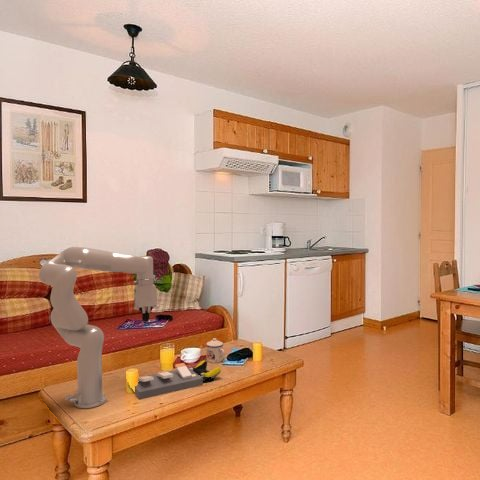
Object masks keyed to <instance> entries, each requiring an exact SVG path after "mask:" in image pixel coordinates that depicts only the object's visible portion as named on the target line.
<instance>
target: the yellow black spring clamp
mask: <svg viewBox="0 0 480 480" xmlns="http://www.w3.org/2000/svg"><path fill="white" fill-rule="evenodd" d="M207 366H208V361H207V360H201V361H200V362H199V363H198V364H197V365H196V366H195V367H190V369H191V370H192V371H194V372H195V373H196V374H198V375H200V376H205V377H211V379H214V378H216V377H218V376H219V375H220V373H221V371H222V370H221V367H219V366H216V367H215V368H213V369H211V370H207Z"/></svg>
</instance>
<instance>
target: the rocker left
mask: <svg viewBox="0 0 480 480" xmlns="http://www.w3.org/2000/svg"><path fill="white" fill-rule="evenodd" d="M138 377H139V378H138V381H142V382H145V381H150V380H154V378H153V377H151V376H148V375H143V376H142V375H141V376H138Z"/></svg>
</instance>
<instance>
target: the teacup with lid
mask: <svg viewBox="0 0 480 480" xmlns="http://www.w3.org/2000/svg"><path fill="white" fill-rule="evenodd" d="M205 346H206V361H207V363H213V364H215V363H216V364H217V363H220V362H223V361H224V358H225V354H226V353H225V350H224V348H223V347H224V343H223V342H222V341H220V340H217V337H214V338H212V340H209V341H207V342H206V344H205Z"/></svg>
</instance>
